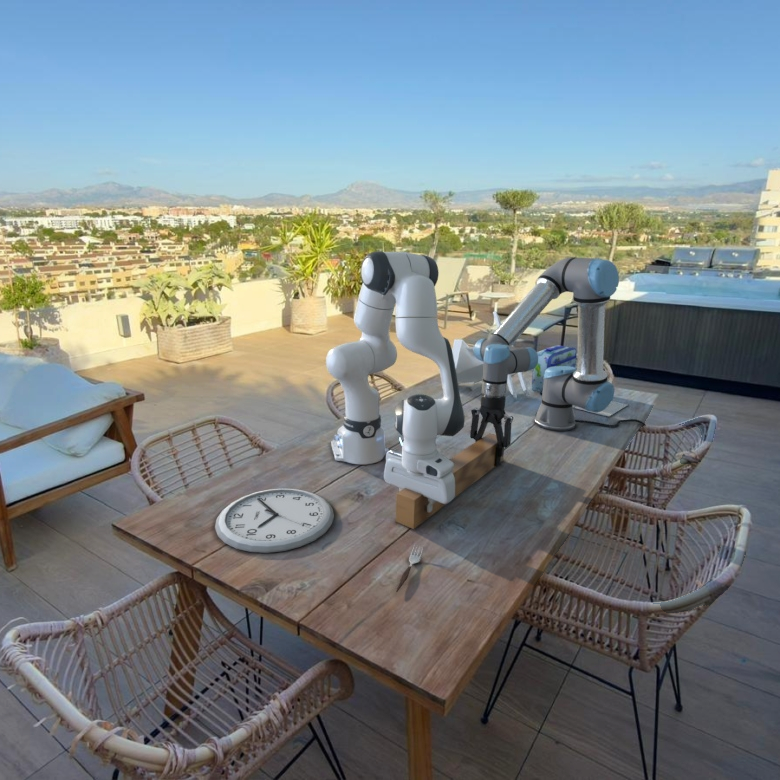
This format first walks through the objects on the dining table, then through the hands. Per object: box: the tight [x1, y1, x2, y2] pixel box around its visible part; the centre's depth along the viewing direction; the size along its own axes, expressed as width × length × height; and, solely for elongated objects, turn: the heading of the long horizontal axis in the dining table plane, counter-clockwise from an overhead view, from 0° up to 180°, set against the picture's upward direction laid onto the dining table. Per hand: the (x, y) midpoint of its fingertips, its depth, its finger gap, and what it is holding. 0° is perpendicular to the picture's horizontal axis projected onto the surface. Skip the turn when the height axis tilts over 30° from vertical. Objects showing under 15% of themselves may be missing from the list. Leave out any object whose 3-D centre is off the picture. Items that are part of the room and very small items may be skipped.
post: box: [395, 432, 505, 530], centre depth 153 cm, size 52×6×8 cm, turn 143°
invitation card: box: [573, 400, 629, 418], centre depth 226 cm, size 21×1×15 cm
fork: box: [395, 543, 425, 593], centre depth 115 cm, size 3×16×2 cm, turn 160°
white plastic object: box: [438, 310, 531, 400], centre depth 245 cm, size 37×45×31 cm
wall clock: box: [214, 488, 335, 554], centre depth 135 cm, size 30×2×30 cm
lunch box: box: [531, 345, 577, 394], centre depth 245 cm, size 26×11×21 cm, turn 134°
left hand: (417, 506), depth 137 cm, fingers closed on post, 5 cm apart
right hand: (488, 462), depth 170 cm, fingers closed on post, 6 cm apart
